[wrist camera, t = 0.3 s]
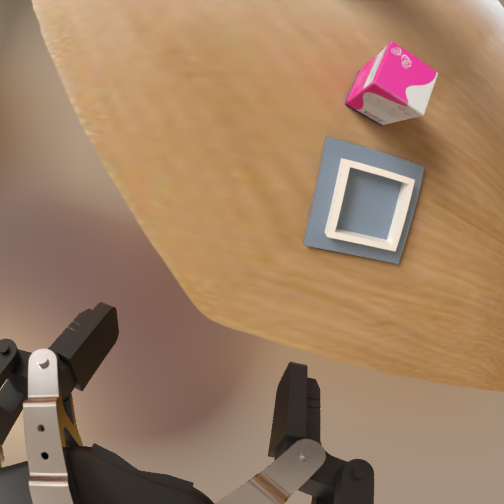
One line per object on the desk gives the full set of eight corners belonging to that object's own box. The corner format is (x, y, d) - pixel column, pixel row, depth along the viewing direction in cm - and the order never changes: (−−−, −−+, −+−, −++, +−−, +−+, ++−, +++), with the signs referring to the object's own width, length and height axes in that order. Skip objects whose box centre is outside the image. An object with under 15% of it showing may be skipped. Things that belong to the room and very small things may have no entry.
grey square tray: (325, 137, 32) (330, 136, 29) (421, 166, 32) (432, 168, 29) (303, 242, 37) (305, 250, 34) (395, 261, 37) (403, 269, 34)
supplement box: (397, 90, 29) (441, 73, 18) (382, 126, 31) (424, 120, 20) (359, 68, 28) (392, 39, 18) (342, 104, 30) (372, 85, 20)
